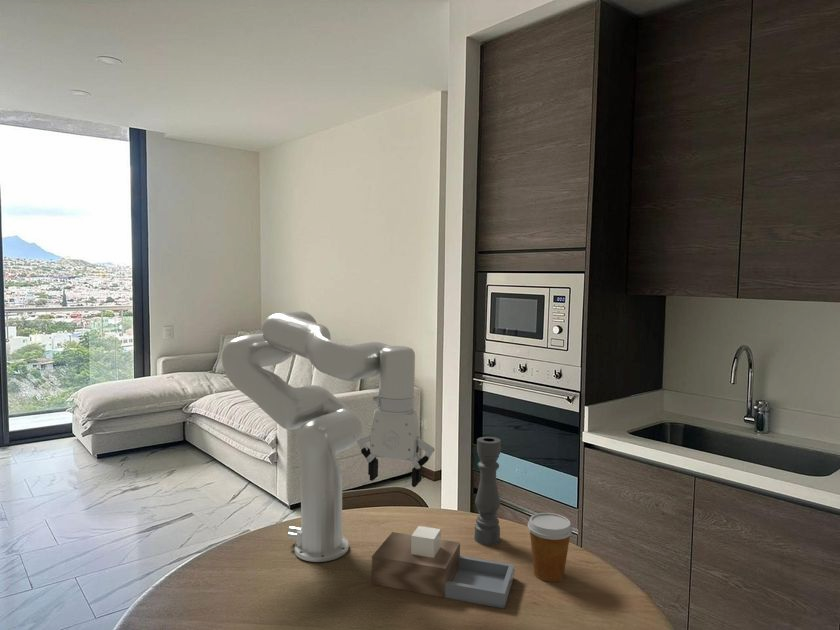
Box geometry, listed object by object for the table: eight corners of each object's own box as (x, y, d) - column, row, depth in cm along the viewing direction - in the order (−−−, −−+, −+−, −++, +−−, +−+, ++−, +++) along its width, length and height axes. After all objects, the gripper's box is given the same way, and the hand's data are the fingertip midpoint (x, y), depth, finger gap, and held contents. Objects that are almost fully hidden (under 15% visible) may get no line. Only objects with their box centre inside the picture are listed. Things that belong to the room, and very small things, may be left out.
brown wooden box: (371, 583, 119) (371, 556, 119) (392, 557, 130) (392, 531, 130) (445, 597, 114) (445, 568, 114) (459, 568, 126) (460, 542, 125)
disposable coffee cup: (546, 590, 117) (547, 534, 116) (517, 569, 126) (518, 516, 125) (580, 579, 122) (582, 525, 121) (551, 559, 130) (552, 508, 129)
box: (445, 597, 114) (445, 583, 114) (459, 568, 126) (459, 555, 125) (504, 608, 110) (504, 593, 110) (513, 578, 122) (514, 564, 122)
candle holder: (499, 546, 136) (500, 444, 135) (473, 543, 137) (474, 442, 136) (500, 535, 142) (502, 437, 141) (475, 532, 143) (477, 435, 142)
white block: (411, 554, 120) (411, 535, 119) (418, 543, 124) (418, 525, 124) (433, 557, 118) (434, 539, 118) (440, 547, 123) (440, 529, 123)
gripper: (352, 403, 121) (350, 482, 122) (429, 412, 115) (427, 493, 117) (365, 396, 128) (364, 470, 129) (439, 404, 123) (437, 481, 124)
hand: (394, 481), depth 123 cm, fingers open, 9 cm apart
